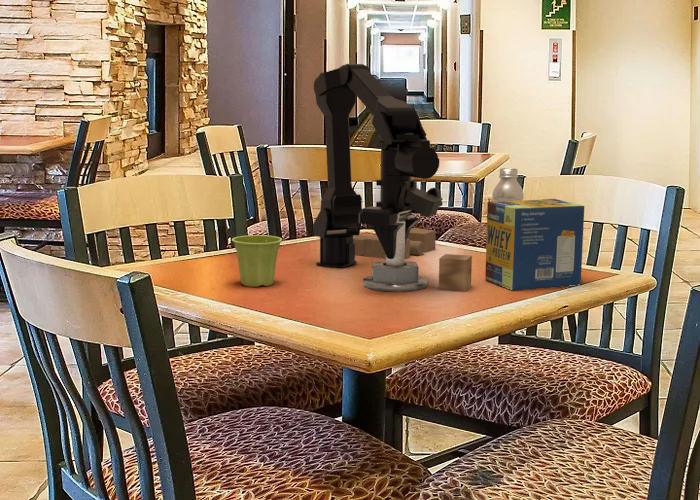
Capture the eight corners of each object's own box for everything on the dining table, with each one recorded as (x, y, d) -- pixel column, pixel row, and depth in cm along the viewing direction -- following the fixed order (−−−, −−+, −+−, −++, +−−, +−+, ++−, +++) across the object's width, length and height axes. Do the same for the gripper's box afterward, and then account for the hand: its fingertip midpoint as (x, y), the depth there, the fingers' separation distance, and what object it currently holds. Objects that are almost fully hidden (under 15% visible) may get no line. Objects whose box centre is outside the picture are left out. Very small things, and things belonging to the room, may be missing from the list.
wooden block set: (404, 237, 213) (333, 230, 222) (403, 263, 214) (333, 255, 223) (439, 227, 227) (372, 221, 236) (439, 251, 228) (372, 244, 237)
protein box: (483, 281, 192) (486, 201, 190) (552, 276, 198) (555, 198, 195) (511, 291, 183) (514, 207, 180) (582, 285, 188) (586, 204, 186)
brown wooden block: (438, 290, 183) (439, 258, 182) (445, 285, 188) (445, 254, 187) (465, 292, 182) (466, 260, 181) (471, 287, 187) (471, 255, 186)
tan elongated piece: (381, 273, 187) (382, 220, 185) (389, 270, 190) (390, 218, 188) (400, 275, 185) (401, 222, 183) (408, 272, 188) (409, 220, 186)
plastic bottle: (486, 260, 214) (489, 167, 211) (517, 260, 215) (520, 167, 212) (493, 265, 208) (496, 170, 205) (525, 265, 209) (528, 170, 205)
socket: (364, 291, 182) (364, 270, 181) (361, 278, 193) (362, 258, 193) (429, 291, 182) (430, 270, 181) (423, 278, 194) (423, 258, 193)
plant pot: (290, 281, 191) (289, 236, 190) (270, 290, 182) (270, 243, 181) (245, 277, 194) (245, 234, 193) (224, 287, 185) (223, 241, 184)
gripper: (414, 180, 172) (412, 269, 175) (455, 172, 188) (454, 253, 191) (357, 177, 178) (356, 263, 180) (402, 169, 194) (401, 248, 196)
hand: (394, 257), depth 187 cm, fingers closed on tan elongated piece, 3 cm apart
